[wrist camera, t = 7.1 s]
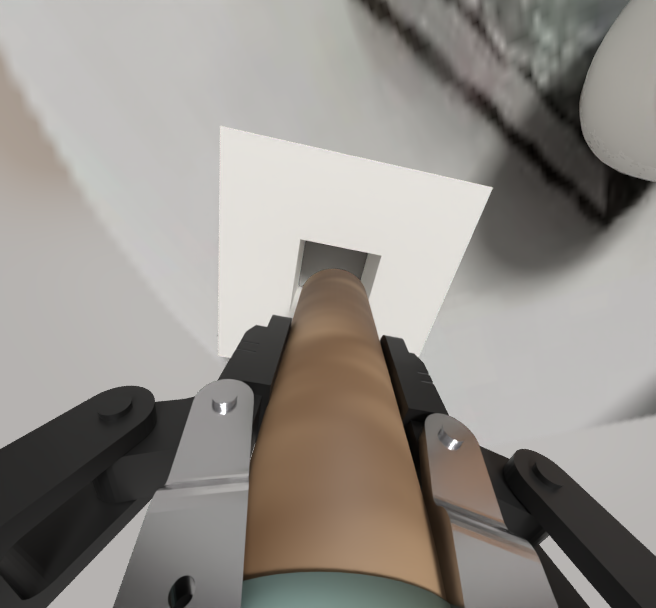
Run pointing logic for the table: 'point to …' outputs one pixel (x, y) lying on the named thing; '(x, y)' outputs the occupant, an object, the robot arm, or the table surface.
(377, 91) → the table surface
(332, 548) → the walnut dowel
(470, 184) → the socket block
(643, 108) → the lidded jar
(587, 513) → the robot arm
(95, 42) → the table surface
